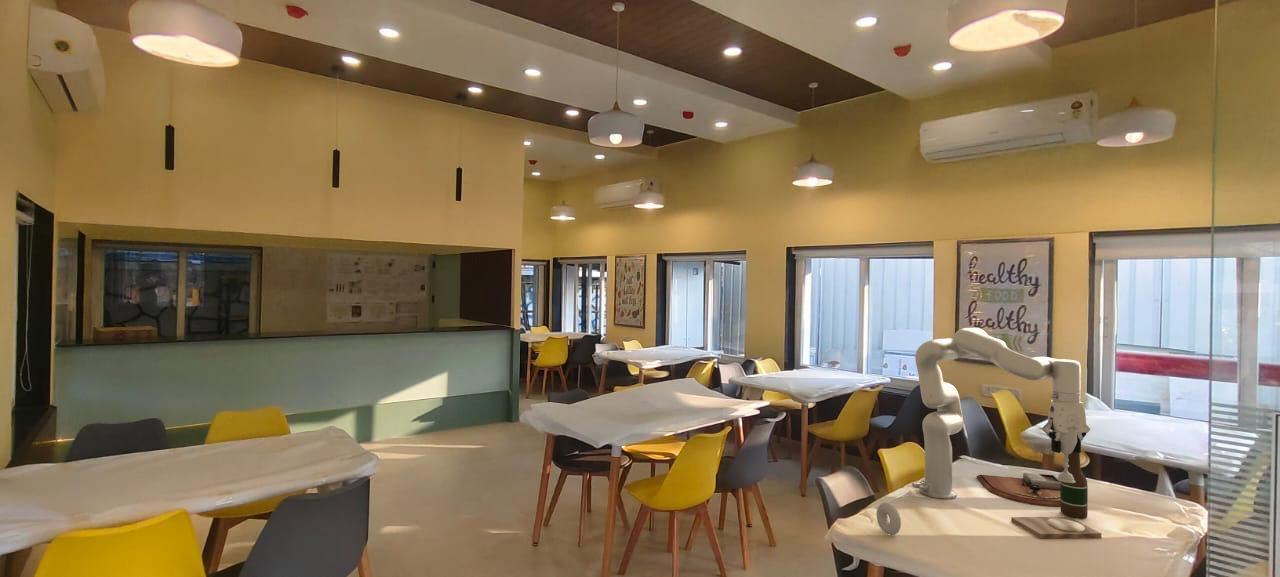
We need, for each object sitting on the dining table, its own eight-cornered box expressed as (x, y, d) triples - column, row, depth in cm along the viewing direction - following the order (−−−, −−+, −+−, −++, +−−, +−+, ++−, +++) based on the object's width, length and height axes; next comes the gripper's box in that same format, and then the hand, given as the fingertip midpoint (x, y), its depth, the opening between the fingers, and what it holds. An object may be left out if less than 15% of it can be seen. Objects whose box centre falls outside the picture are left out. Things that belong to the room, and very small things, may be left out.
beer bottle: (1058, 515, 207) (1058, 447, 208) (1062, 509, 213) (1062, 443, 213) (1086, 521, 202) (1086, 451, 202) (1088, 515, 208) (1089, 447, 208)
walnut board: (1040, 538, 188) (1040, 532, 188) (1011, 521, 202) (1011, 515, 202) (1101, 538, 188) (1101, 531, 188) (1068, 520, 202) (1068, 514, 202)
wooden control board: (1061, 473, 241) (1094, 498, 212) (1061, 486, 240) (1094, 512, 212) (976, 466, 250) (996, 489, 221) (976, 478, 250) (996, 503, 221)
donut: (903, 539, 187) (903, 508, 187) (894, 541, 186) (894, 509, 186) (883, 527, 196) (883, 497, 196) (874, 528, 195) (874, 498, 195)
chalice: (1056, 475, 199) (1056, 422, 199) (1080, 480, 194) (1081, 425, 194) (1051, 480, 194) (1051, 425, 194) (1076, 485, 189) (1076, 429, 189)
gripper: (1049, 399, 190) (1048, 455, 190) (1101, 399, 191) (1100, 455, 191) (1032, 395, 198) (1032, 449, 198) (1082, 395, 198) (1082, 448, 198)
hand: (1066, 451), depth 194 cm, fingers closed on chalice, 6 cm apart
